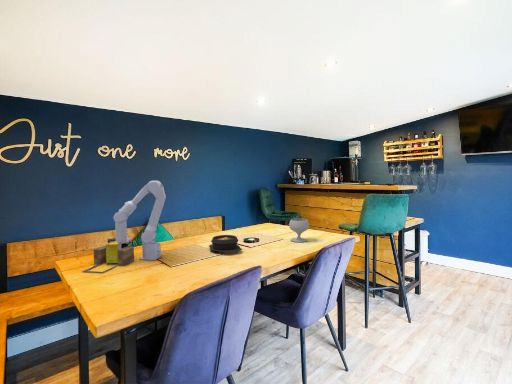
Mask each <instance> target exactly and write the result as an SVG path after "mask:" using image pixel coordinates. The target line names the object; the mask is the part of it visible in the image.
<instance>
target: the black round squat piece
mask: <svg viewBox="0 0 512 384" xmlns="http://www.w3.org/2000/svg"><path fill="white" fill-rule="evenodd" d="M210 242H211V244H209V245H208V247H209V250H211V251H213V252H216V253H223V254H224V253H225V254H226V253H227V254H229V253H231V254H232V253H236V252H240V251H242V248H241V247H240V246H239V245H238V243H239V238H238V236H236V235H233V234H232V235H231V234H220V235H214V236H213V237H212V239H211V240H210Z"/></svg>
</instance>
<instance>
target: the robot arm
mask: <svg viewBox="0 0 512 384" xmlns="http://www.w3.org/2000/svg"><path fill="white" fill-rule="evenodd" d="M149 194H152V195H153V197H155V200H154V204H153V208H152V210H151V214H150V217H149V219H148V222H147V226H146V227H145V230H144V232H143V233H141V235H140V240H141V245H142V246H141V247H142V248H141V249H142V257H140V258H139V260H140V261H141V260H144V261H148V260H149V261H150V260H151V261H156V260H158V259H159V258H161V257H162V245H161V243H160V242H157V241H156V237H157V229H158V228H157V227H158V223H159V220H160V216H161V214H162V211H163V208H164V206H165V201H166V199H167V196H166V195H167V194H166V193H165V188H164V185H163V183H162V182H161V181H160V180H150V181H148V183H147V184H145V185H144V186H143V187H142V188H141V189H140V190H139V192H138V193H137V194H136V195H135V197H134V198H133V199H132V200H128V201H125V202H124V205H123V206H122V207H121V208H119V209H118V212H115V213H114V215H113V221H114V222H115V223H114V225H115V227H114V228H115V232H114V233H115V238H116V241H114V242H121V248H125V247H129V243H130V242H132V238H130V237H128V226H127V220H128V218H129V216H130V215H131V214H132V213H133V212H134V211H135V210H136V209H137V204H138V203H140V202H141V200H142V199H143V198H145V196H146V195H149Z"/></svg>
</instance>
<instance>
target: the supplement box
mask: <svg viewBox="0 0 512 384" xmlns="http://www.w3.org/2000/svg"><path fill="white" fill-rule="evenodd" d="M105 246H106V261H107V262H106V266H108V265H110V266H111V265H118V250H120V249H122V248H121V242H109V243H108V242H107V243H106V244H105Z"/></svg>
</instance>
